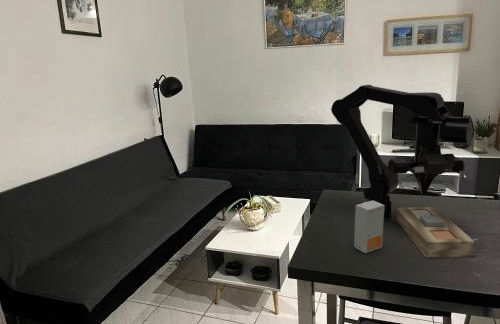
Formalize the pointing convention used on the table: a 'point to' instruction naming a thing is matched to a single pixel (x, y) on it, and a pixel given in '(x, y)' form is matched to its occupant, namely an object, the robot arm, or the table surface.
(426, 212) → the offwhite key
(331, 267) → the table surface
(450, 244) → the wooden slotted tray
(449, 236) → the terracotta key
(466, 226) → the table surface
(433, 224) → the grey key
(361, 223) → the skincare box
